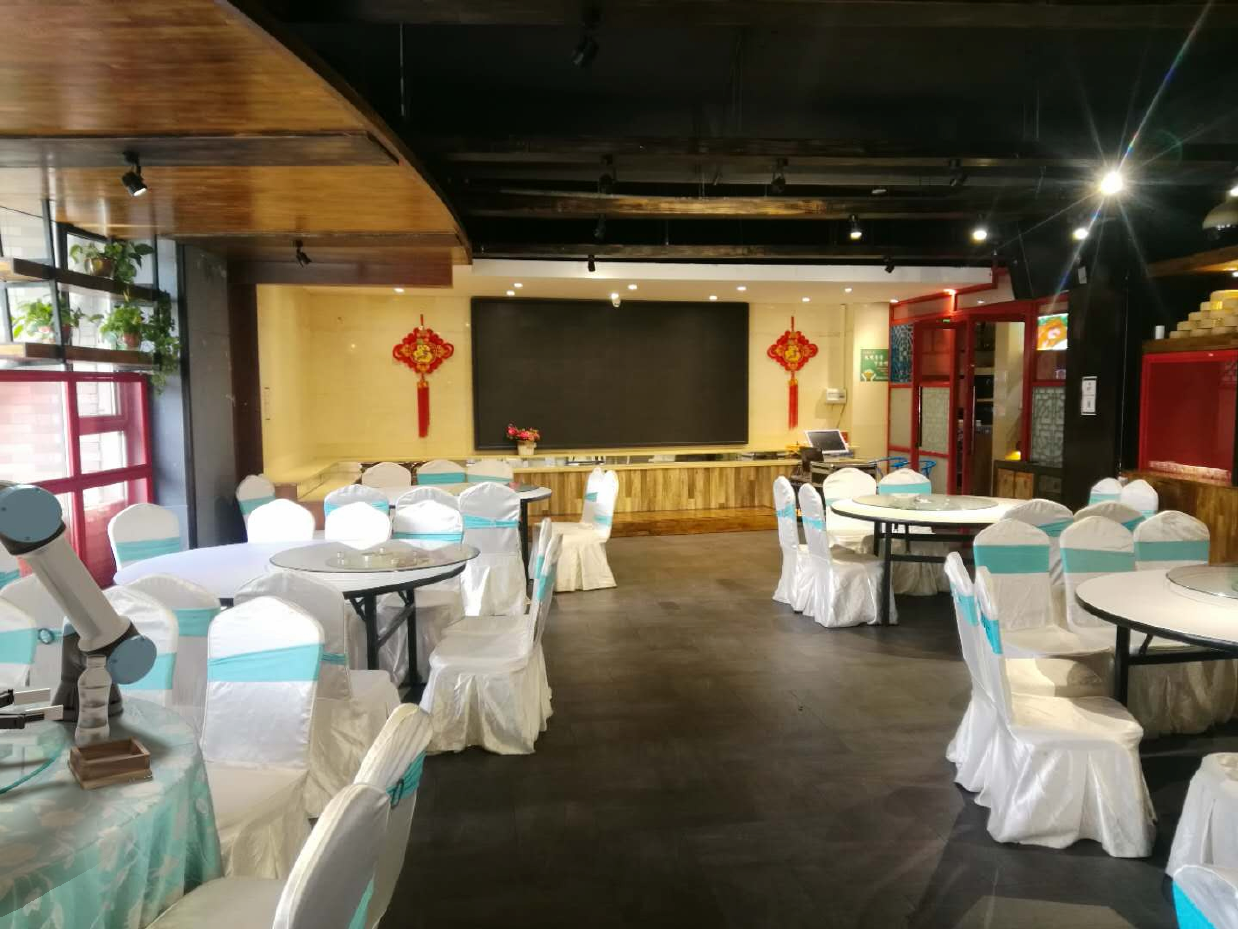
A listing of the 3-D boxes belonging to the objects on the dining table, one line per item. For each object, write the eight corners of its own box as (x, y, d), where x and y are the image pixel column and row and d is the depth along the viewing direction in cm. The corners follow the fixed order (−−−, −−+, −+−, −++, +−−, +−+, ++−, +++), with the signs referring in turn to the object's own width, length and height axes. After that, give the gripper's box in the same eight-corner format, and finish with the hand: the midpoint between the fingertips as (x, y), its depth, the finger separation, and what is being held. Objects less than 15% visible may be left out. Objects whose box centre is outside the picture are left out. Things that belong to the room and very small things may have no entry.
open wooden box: (67, 763, 176) (68, 744, 176) (131, 752, 184) (132, 734, 184) (84, 790, 164) (85, 770, 164) (152, 776, 173) (153, 757, 172)
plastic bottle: (92, 753, 182) (97, 662, 181) (66, 749, 183) (71, 658, 183) (116, 743, 188) (121, 655, 188) (90, 739, 190) (95, 651, 189)
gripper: (-78, 720, 175) (44, 704, 189) (-67, 759, 157) (67, 737, 171) (-76, 685, 175) (46, 671, 189) (-65, 719, 157) (69, 701, 171)
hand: (56, 703), depth 180 cm, fingers open, 13 cm apart
